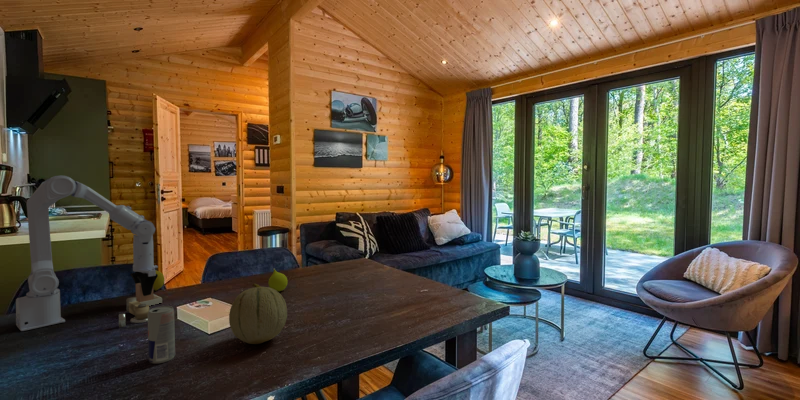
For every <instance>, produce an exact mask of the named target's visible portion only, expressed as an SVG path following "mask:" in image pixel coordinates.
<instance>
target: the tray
mask: <svg viewBox="0 0 800 400" xmlns="http://www.w3.org/2000/svg"><path fill="white" fill-rule="evenodd" d="M140 303H141V304H146V305H149V306H150V307H152V306H151V305H154V306H156V305H155V304H159V303H162V304H163V297H161V296H158V295H157V294H155V293H154V299H153V300H148V301H144V302H140ZM159 305H160V304H159Z"/></svg>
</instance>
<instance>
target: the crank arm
mask: <svg viewBox="0 0 800 400" xmlns="http://www.w3.org/2000/svg"><path fill="white" fill-rule="evenodd" d="M125 300H126V312H127V313H130V314H132V315H133V316H134V317H135V318H136V319H144V318H147V317H148V312H149V310H150V307H149V305H146V304H141V303H140V302H138V301H136V296H133V297H127V298H126V299H125Z"/></svg>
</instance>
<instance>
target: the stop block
mask: <svg viewBox="0 0 800 400" xmlns="http://www.w3.org/2000/svg"><path fill="white" fill-rule="evenodd" d="M154 294H155V293H154V289H153V288H152V293H151V295H147V296H143V293H142V287H141V284H140V283H136V285H135V297H136V301H138V302H144V301H148V300H153V299H154Z"/></svg>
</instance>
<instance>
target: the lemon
mask: <svg viewBox="0 0 800 400" xmlns="http://www.w3.org/2000/svg"><path fill="white" fill-rule="evenodd" d="M155 270H156V274H158V277H157V278H156V280H155V282H154V285H153V291H159V289H161V288H162V287H163V286H164V285H165V276H164V274H163V272H161V271H159V270H157V269H155Z"/></svg>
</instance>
